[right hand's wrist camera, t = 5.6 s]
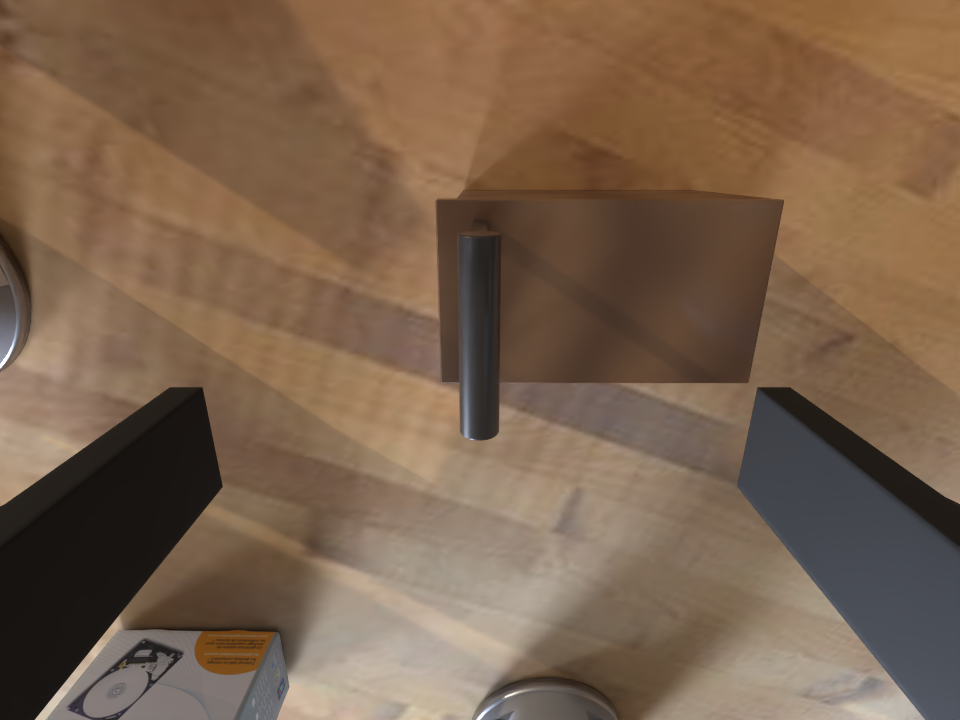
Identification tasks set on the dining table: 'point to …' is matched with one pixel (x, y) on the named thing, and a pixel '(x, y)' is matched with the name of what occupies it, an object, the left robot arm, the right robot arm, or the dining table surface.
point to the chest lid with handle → (598, 293)
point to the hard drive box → (181, 677)
